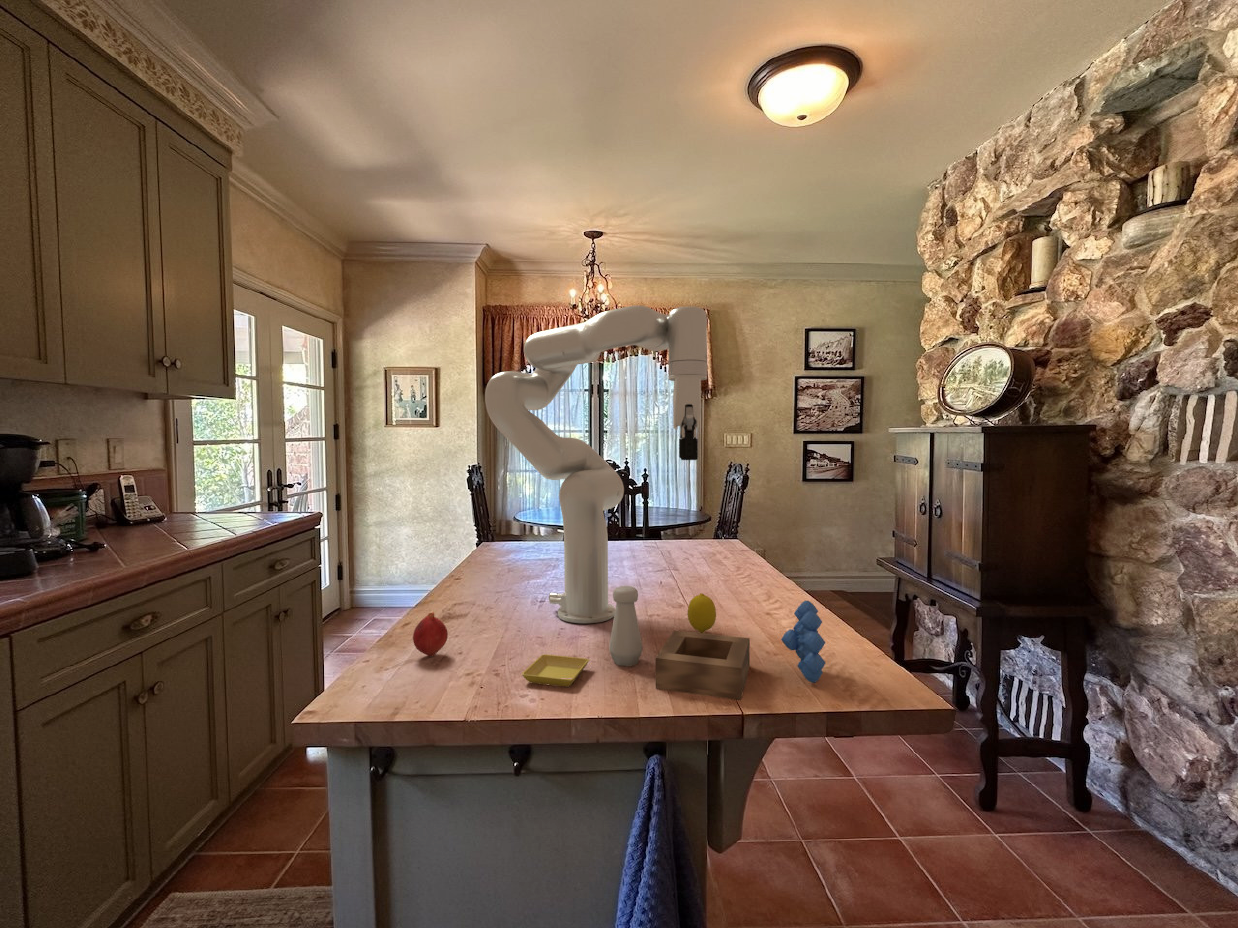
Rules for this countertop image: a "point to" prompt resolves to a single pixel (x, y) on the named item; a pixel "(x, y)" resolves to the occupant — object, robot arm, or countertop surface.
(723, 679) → the shaker holder
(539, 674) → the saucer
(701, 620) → the lemon
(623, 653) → the salt shaker
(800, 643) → the grapes
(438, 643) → the onion
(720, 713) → the countertop surface
